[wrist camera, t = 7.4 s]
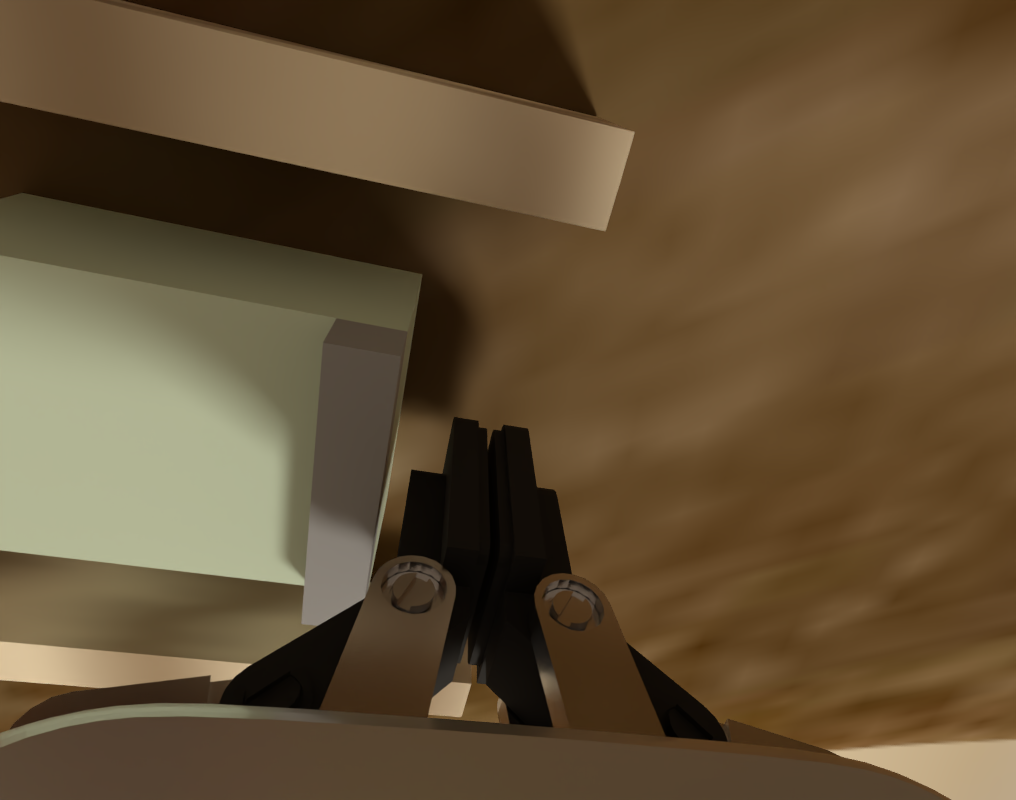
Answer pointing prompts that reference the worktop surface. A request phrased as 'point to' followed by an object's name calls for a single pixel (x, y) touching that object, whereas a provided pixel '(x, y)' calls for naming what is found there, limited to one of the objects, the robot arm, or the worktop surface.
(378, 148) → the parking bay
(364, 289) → the pale green block
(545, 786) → the robot arm
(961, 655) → the worktop surface
